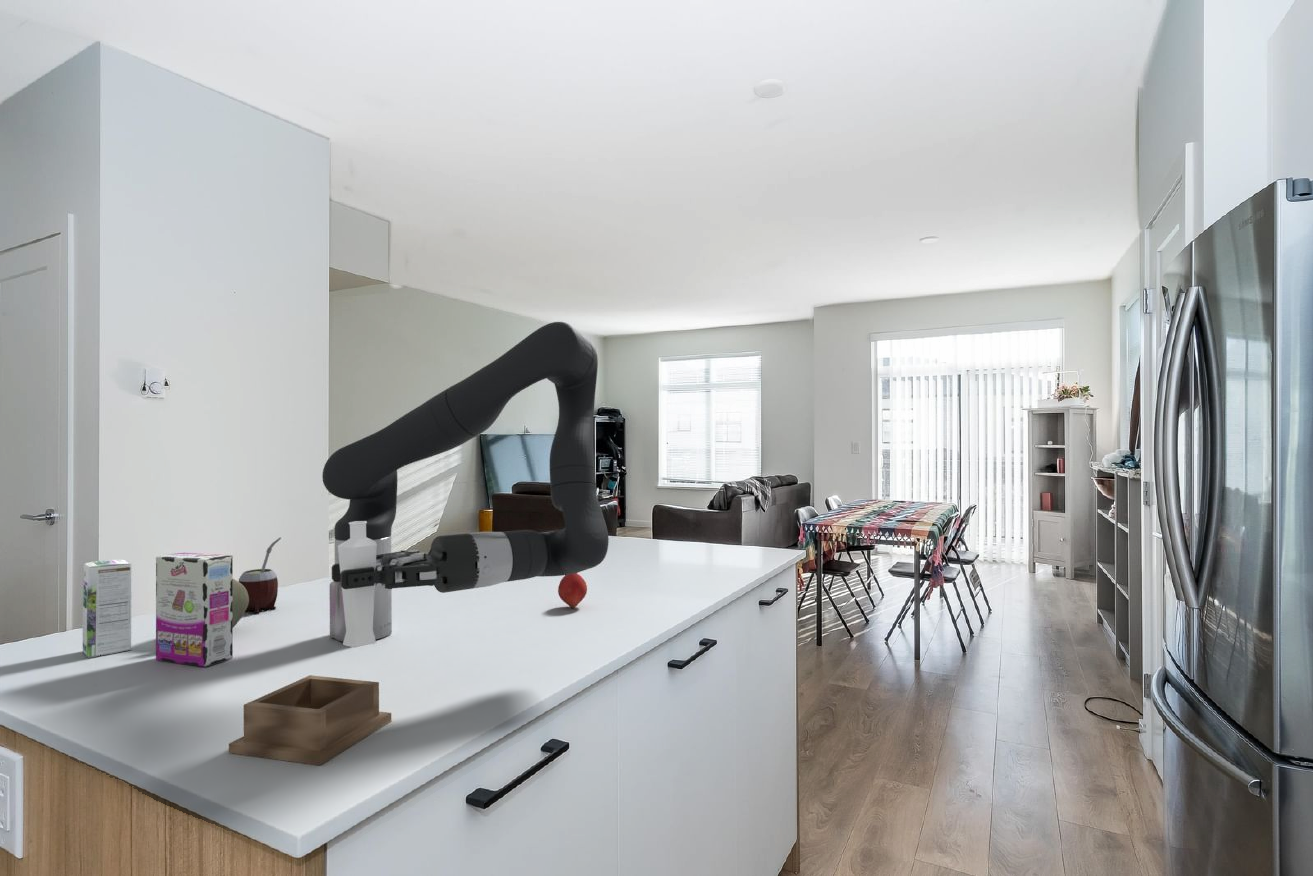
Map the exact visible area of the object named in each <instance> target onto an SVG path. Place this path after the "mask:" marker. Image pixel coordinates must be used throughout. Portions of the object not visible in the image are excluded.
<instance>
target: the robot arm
mask: <svg viewBox="0 0 1313 876" xmlns="http://www.w3.org/2000/svg"><path fill="white" fill-rule="evenodd" d="M598 360H599V359H598V354H597V350H596V348H595V347H594V345H593V344H592V342H590V340H589V339H588V338H586V337H585V336H584V335H583V334H582V333H581V332H580V331H578V330H577V328H576V327H574V326H573V325H571V324H569V323H567V322H564V321H553V322H550V323H546V324H545V325H543V326H541V327H539V328H537V329H536V330H534V331H533V332H532V333H530V334H529V335H527V336H526V337H525V338H524V339H522V340H521V341H519V342H518V343H517V344H515V345H514V346H513V347H511V348H510V349H509V350H507V351H506V352H505V353H503V354H502V355H501V356H499V357H498V358H496V359H495V360H493V361H492V362H490V363H488V364H487V365H486V366H485V365H484V366H483V367H482V368H480V369H479V370H477V371H475V372H474V373H472V374H471V375H469V376H467V377H465V378H464V379H463V380H461V381H459V382H457V383H455V384H453V385H451V386H449V387H447V388H445V389H444V390H443V391H441V392H439V393H438V394H436V395H434V396H433V397H431V398H430V399H427V400H426V401H425V402H424V403H422V404H420V405H419V406H417V407H415V408H414V409H412V410H410V411H409V412H407V413H406V414H404V415H402V416H401V417H399V418H398V419H395V421H393V422H391V423H390V424H388V425H387V426H385V427H384V428H381V429H380V430H378V431H376V432H374V433H372V434H370V435H367V436H366V437H363V438H361V439H358V440H357V441H353V442H352V443H349V444H347V445H345V446H343V447H340V448H339V449H337V450H336V451H334V452H333V453H332V454H331V455H330V456H329V457H328V459H327V460H326V462H325V463H324V467H323V470H322V482H323V485H324V488H325V489H326V491H328V492H329V493H330V494H331V495H333V496H334V497H336V498H340V499H343V500H349V505H348V509H347V510H346V512H345V513H344V515H343V516H342V517H341V518H339V519H338V520H337V521H336V523H335V524H334V537H333V538H334V543H333V545H334V564H332V566H331V580H332V581H331V582H330V583H329V638H332V639H335V640H337V641H339V642H344V638H345V634H346V625H345V615H344V605H343V595H342V588H343V589H352V588H360V587H367V586H374V583H375V593H374V614H373V633H374V636H375V640H379V639H383V638H385V637H387V636H389V635H391V634H392V632H393V630H392V628H393V627H392V626H393V625H392V624H393V623H392V621H393V617H392V615H393V614H392V608H393V607H392V606H393V605H392V602H393V601H392V597H393V596H392V594H393V593H392V589H402V588H404V589H405V588H416V587H425V586H426V587H427V586H429V587H434V588H435V589H436V591H438V592H439V593H443V594H445V593H446V594H447V593H451V592H452V593H453V592H459V591H464V590H465V591H466V590H472V589H478V588H480V589H481V588H487V587H491V586H495V585H498V584H502V583H506V582H515V581H523V580H528V579H529V580H530V579H532V578H536V577H538V578H539V577H543V578H544V577H561V576H563V577H564V576H565V575H570V574H575V573H577V574H578V573H581V572H583V571H586V570H587V571H588V570H590V569H593V568H595V567H598V566H599V565H600V564H601V563H602V562H603V561H604V560H605V558H606V556H607V553H608V551H609V550H608V549H609V531H608V528H607V527H608V526H607V523H606V520H605V517H604V513H603V510H602V507H601V505H600V504H601V503H600V502H599V498H598V496H597V480H596V479H597V478H596V468H595V466H596V465H595V452H594V451H595V449H594V420H595V418H594V417H595V415H594V414H595V404H596V403H595V402H596V400H595V399H596V388H597V378H598V367H599V366H598V364H599V363H598V362H599V361H598ZM546 379H547V380H548V381H550V382H551V383H552V384H553V385H554V388H555V392H556V396H557V402H558V420H557V421H558V422H557V426H556V430H555V433H554V437H553V440H552V443H551V447H550V452H549V484H550V485H549V487H550V498H551V502H552V505H553V507H554V508H555V509H556V510H559V511H560V512H562V515H563V516H562V517H563V520H564V527H563V528H561V529H557V530H551V531H541V532H538V531H536V530H534V529H533V530H532V529H517V530H507V531H479V532H478V531H477V532H476V531H475V532H465V533H455V534H445V535H438V536H436V537H434V539H433V540H432V542H431V545H430V550H429V551H428V553H426V552H420V551H421V550H419V549H412V550H411V549H410V550H400V551H395V552H392V529H393V528H392V527H393V524H394V521H395V520H396V519H395V518H396V516H397V501H398V470H399V469H401V468H403V467H406V466H408V465H411V464H413V463H414V464H415V463H416V462H420V461H423V460H425V459H429V458H432V457H434V456H438V455H441V454H443V453H445V452H449V451H450V450H453V449H455V448H458V447H459V446H461V445H464V444H465V443H467V442H468V441H470V440H473V439H474V438H476V437H477V436H479V435H480V434H483V432H485V431H487V430H488V429H489V428H490V427H492V425H493V424H494V423H495V422H496V420H497V419H498V417H500V414H501V413H502V411H503V410H504V409H505V407H506V405H507V404H508V403H509V401H511V399H512V398H513V397H515V396H516V395H517V394H518V393H520V392H522V391H524V390H525V389H527V388H529V387H530V386H533V385H535V384H537V383H538V382H540V381H542V380H546ZM355 521H367V523H366V537H367V538H369V539H371V540H373V541H375V542H376V544H377V550H376V566H375V570H374V567H366V568H357V569H349V570H343V571H342V572H341V574H340V565H339V555H338V545H340V544H342V543H343V542H345V541H347V540H348V539H350V524H349V523H350V522H355Z"/></svg>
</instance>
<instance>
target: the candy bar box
mask: <svg viewBox="0 0 1313 876" xmlns="http://www.w3.org/2000/svg"><path fill="white" fill-rule="evenodd" d="M155 562H156V563H155V660H156V661H159V662H160V661H161V662H167V663H175V664H180V665H187V666H195V667H203V668H205V667H207V668H208V667H209V666H213V665H217V664H220V663H223V662H226V661H229V660H232V659H233V653H234V652H233V650H234V649H233V628H232V617H233V612H232V600H233V593H232V592H233V586H232V585H233V580H232V579H234V575H233V567H234V566H233V564H234V563H233V555H228V554H216V553H215V554H213V553H198V552H197V553H196V552H195V553H194V552H179V553H178V552H177V553H171V554H164V555H158V556H156V557H155Z"/></svg>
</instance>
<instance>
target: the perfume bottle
mask: <svg viewBox="0 0 1313 876" xmlns="http://www.w3.org/2000/svg"><path fill="white" fill-rule="evenodd" d="M366 523H367V521H355V522H350V523H349V524H350V539H348V540H347V541H345V542H343V543H342V544H340V545H338V555H339V565H340V574H341V572H342V571H343V570H349V569H357V568H366V567H374V570H375V566H376V550H377V544H376V542H375V541H373V540H371V539H369V538H367V537H366ZM374 593H375V583H374V586H367V587H360V588H352V589H343V588H342V595H343V605H344V615H345V625H346V634H345V638H344V642H343V641H342V642H343V643H342V645H343V646H347V647H352V648H359V647H365V646H369V645H374V644H376V642H377V640H376V639H375V636H374V633H373V614H374Z"/></svg>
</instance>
